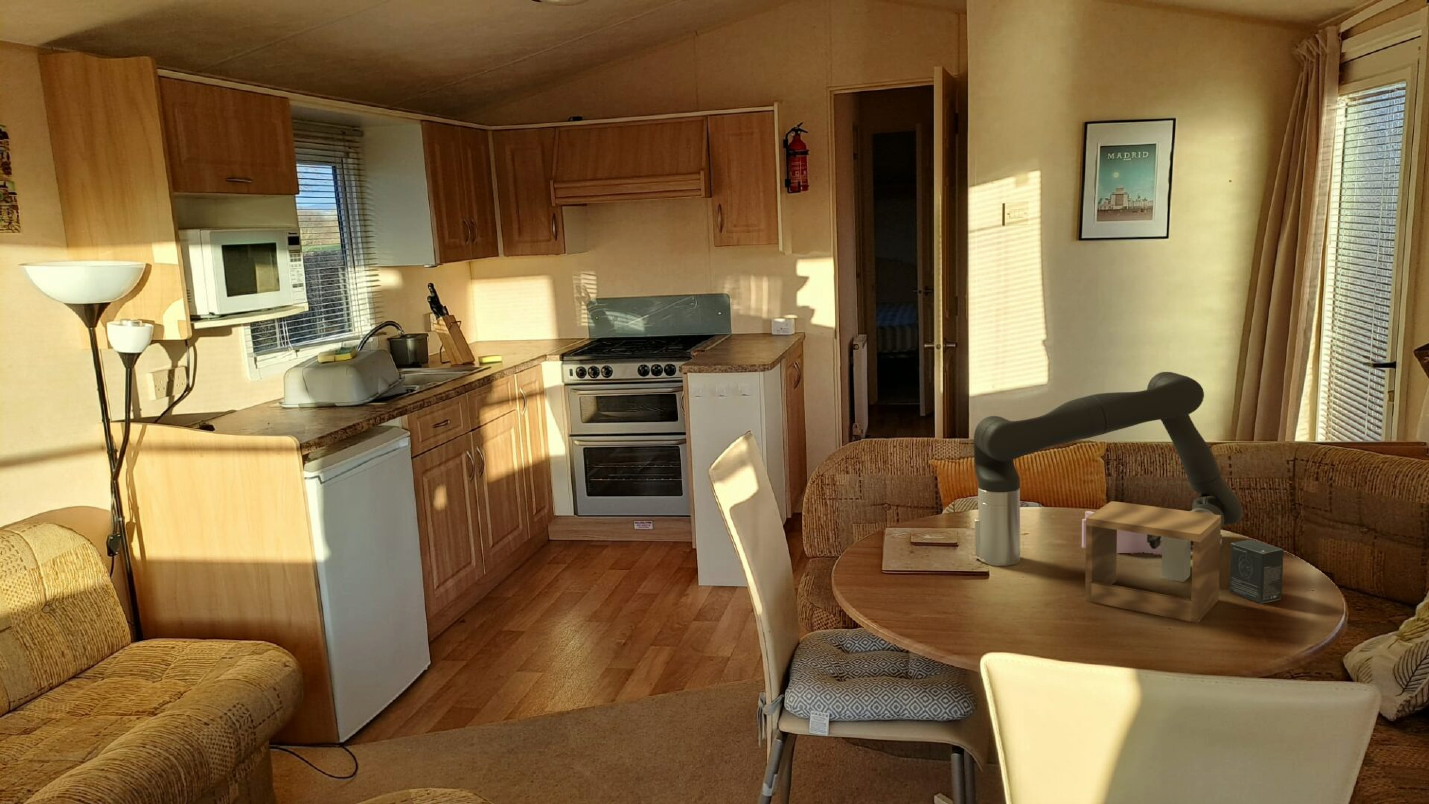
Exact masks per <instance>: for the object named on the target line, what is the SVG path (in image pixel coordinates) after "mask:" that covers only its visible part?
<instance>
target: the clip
mask: <svg viewBox="0 0 1429 804" xmlns="http://www.w3.org/2000/svg"><path fill="white" fill-rule="evenodd" d="M1094 512H1095V511H1091V510H1090V511H1089V510H1086V511H1084V513H1085V515H1084V518H1082V519H1081V548H1082V549H1083V548H1084V549H1086V518H1087V517H1088V516H1090V515H1091V514H1093V513H1094ZM1160 541H1162V536H1161V539H1160ZM1143 552H1144V553H1145V554H1151V553H1153V554H1152V555H1159V554H1160V556H1162V545H1160V546H1158V547H1157V548H1156V549H1152V548H1151V546H1150V543H1148V542H1147V534H1142V533H1135V532H1129V531H1122V530H1117V553H1131V554H1136V553H1137V554H1139V553H1143ZM1144 553H1143V554H1144Z"/></svg>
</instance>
